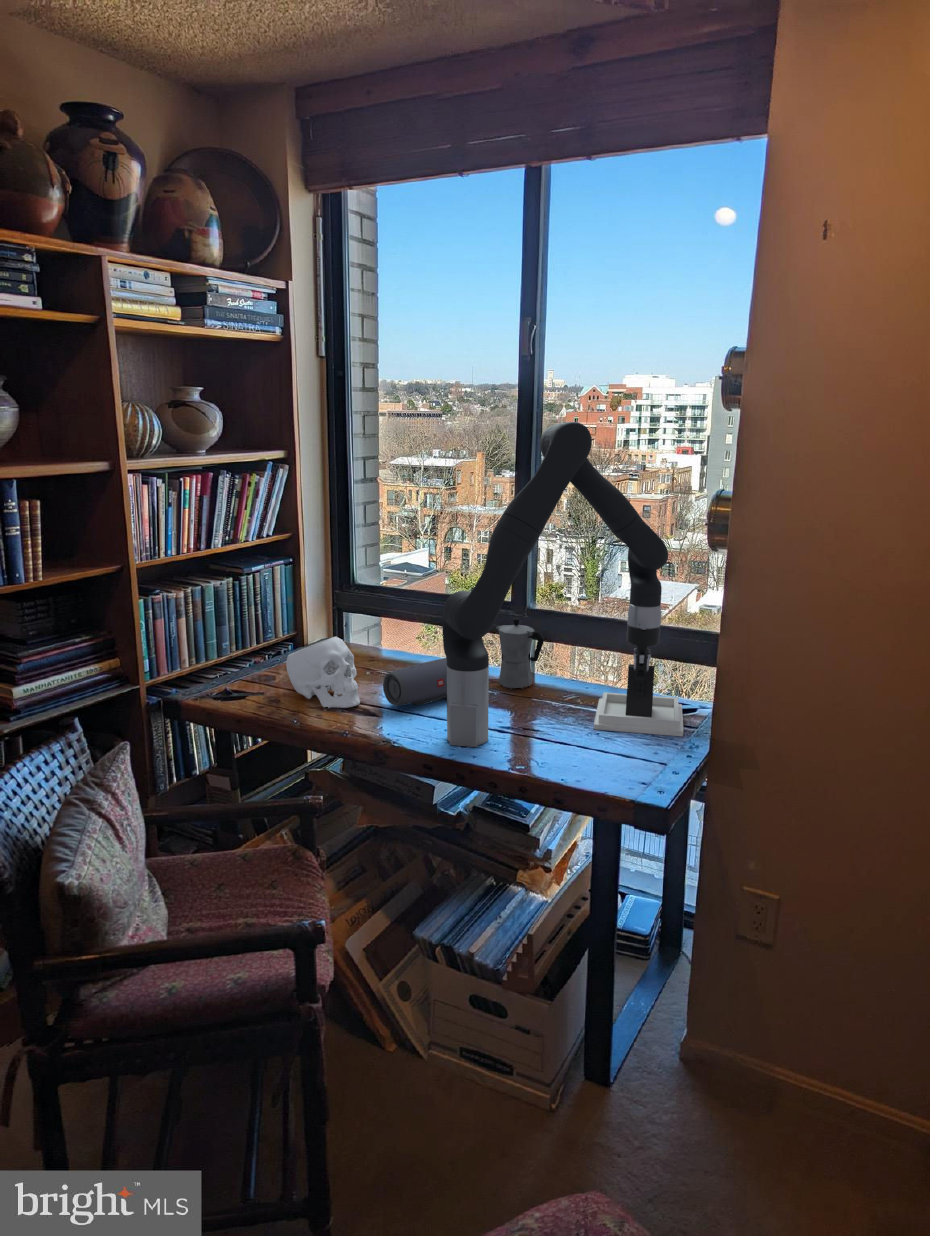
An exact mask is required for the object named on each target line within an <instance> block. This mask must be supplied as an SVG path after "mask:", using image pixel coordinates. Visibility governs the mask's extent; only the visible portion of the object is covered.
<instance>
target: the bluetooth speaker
mask: <svg viewBox="0 0 930 1236" xmlns="http://www.w3.org/2000/svg"><path fill="white" fill-rule="evenodd" d="M382 688H383V694H384V697H385V699H386V700H387V702H388V703H389V704H390V705H392V706H395V707H396V706H405V705H409V704H412V705H413V706H420V705H421V704H422V705H426V704H429V703H428V702H430V703H432V702H431V701H434V702H437V701H442V700H443V698H444V699H447V660H446V657H444V658H439V659H433V660H429V661H425V662H421V663H417V664H412V665H410V666H405V667H403V668H399V669H396V670H393V671H390V672H388V673H386V674H385V677H384V678H383V683H382ZM425 703H426V704H425Z"/></svg>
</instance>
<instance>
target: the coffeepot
mask: <svg viewBox="0 0 930 1236" xmlns="http://www.w3.org/2000/svg"><path fill="white" fill-rule="evenodd" d="M519 623H520V618H518V617H516V618H513V624H511V625H510V624H509V625H508V624H507V625H498V626H496V627H495V628H496V629H497V630H498V637H499V643H500V650H501V654H502V655H503V656H502V657H503V659H502V662H501V667H500V670H499V678H498V684H499V685H500V686H501V685H502V686H501V687H503V688H508V689H512V688H514V689H515V688H521V689H524V688H523V687H526V688H528V687H527V686H529V687H531V686H530V684H531V685H533V676H532V668H531V662H530V661H532V662H537V661H538V660H539V657H540V653H541V650H542V648H543V646H544V642H545V638H544V636H543V635H542V633H541V632H540V631H539V630H535V628H532V627H530V626H528V625H523V624H522V625H521V624H519ZM533 639H536V640H537V642H536V647H535V650H534V653H533V657H531V656H530V657H529V655H530V653H531V649H532V642H533Z"/></svg>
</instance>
